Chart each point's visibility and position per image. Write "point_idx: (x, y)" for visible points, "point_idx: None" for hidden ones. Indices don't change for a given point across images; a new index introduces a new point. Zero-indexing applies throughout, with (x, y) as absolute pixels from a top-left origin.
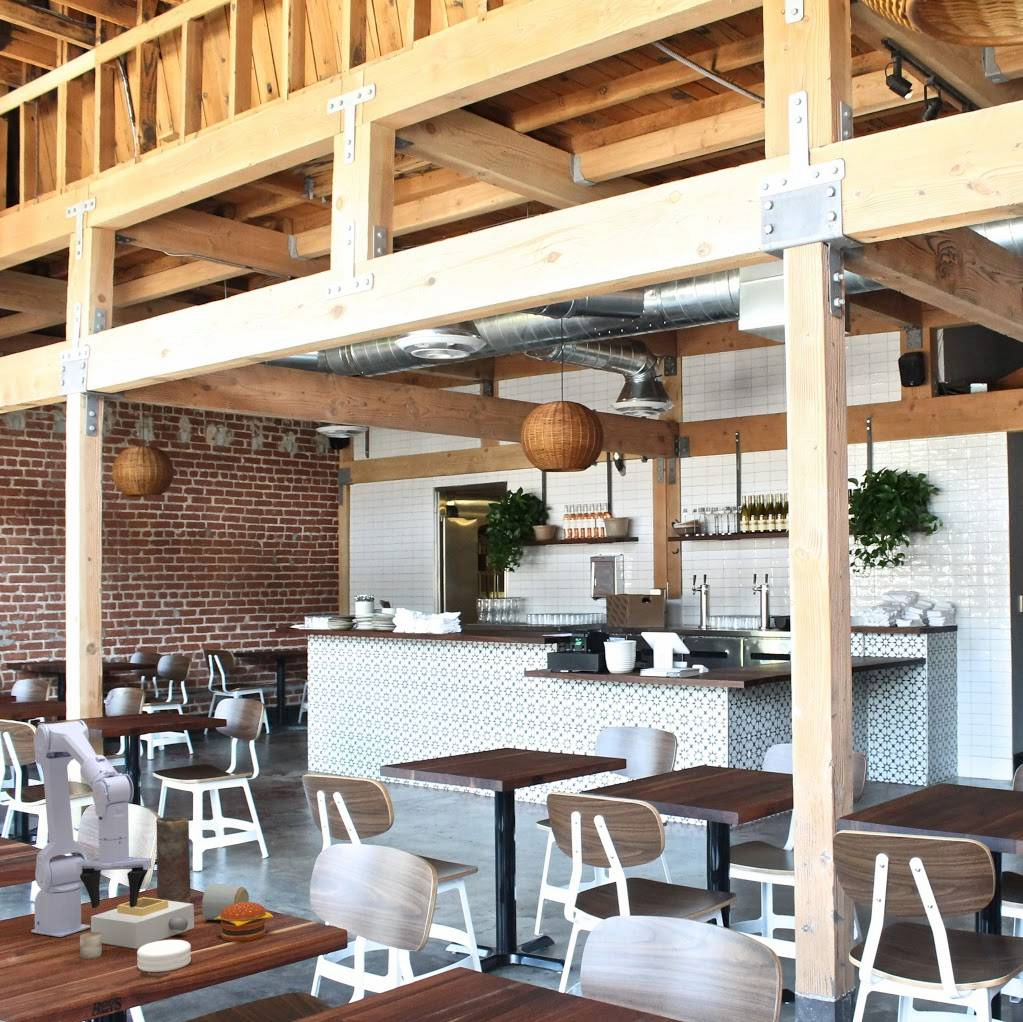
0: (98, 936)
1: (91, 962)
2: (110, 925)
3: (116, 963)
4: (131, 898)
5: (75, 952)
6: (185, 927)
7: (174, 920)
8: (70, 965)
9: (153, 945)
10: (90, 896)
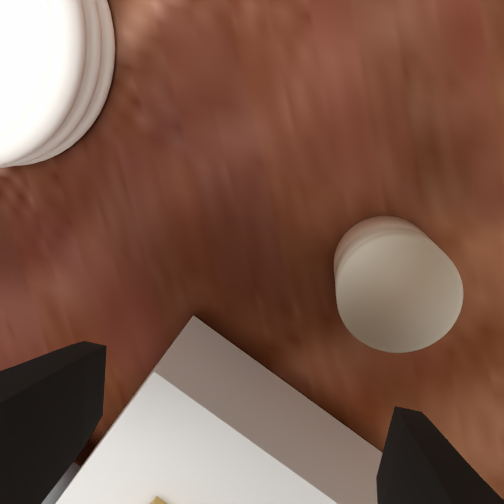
0: (346, 264)
1: (359, 144)
2: (321, 467)
3: (229, 99)
4: (45, 362)
5: (469, 335)
6: None
7: None
8: (462, 114)
9: (9, 75)
10: (468, 474)
